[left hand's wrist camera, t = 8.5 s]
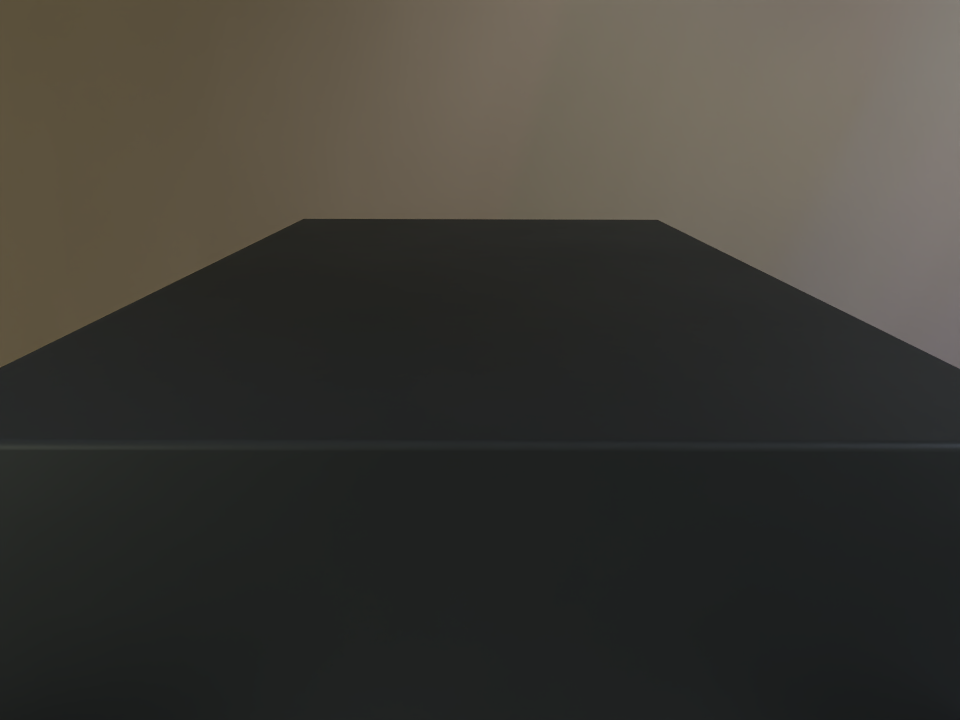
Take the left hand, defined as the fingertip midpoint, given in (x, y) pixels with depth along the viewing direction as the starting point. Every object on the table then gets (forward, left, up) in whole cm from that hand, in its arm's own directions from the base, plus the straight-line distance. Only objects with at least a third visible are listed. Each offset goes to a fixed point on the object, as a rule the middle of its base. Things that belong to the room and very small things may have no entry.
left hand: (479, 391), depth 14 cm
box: (+3, +10, -1) cm, 10 cm away
